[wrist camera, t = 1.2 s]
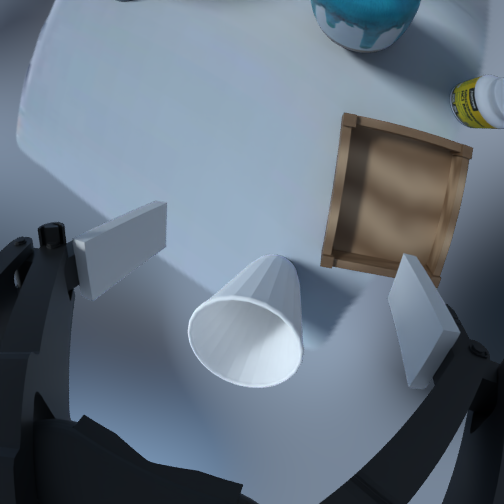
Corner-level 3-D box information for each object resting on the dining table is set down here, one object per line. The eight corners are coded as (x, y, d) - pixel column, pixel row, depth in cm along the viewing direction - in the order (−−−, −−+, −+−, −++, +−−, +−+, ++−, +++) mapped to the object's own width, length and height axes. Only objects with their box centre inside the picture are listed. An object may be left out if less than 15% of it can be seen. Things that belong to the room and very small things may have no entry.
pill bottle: (440, 93, 26) (478, 79, 16) (470, 77, 23) (512, 63, 13) (463, 135, 27) (506, 138, 17) (491, 118, 24) (537, 118, 14)
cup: (331, 288, 40) (326, 368, 25) (265, 322, 45) (235, 398, 30) (283, 220, 38) (252, 273, 24) (218, 263, 43) (165, 325, 29)
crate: (342, 116, 31) (344, 112, 27) (457, 146, 28) (473, 147, 24) (321, 252, 38) (320, 266, 34) (428, 272, 35) (437, 287, 31)
